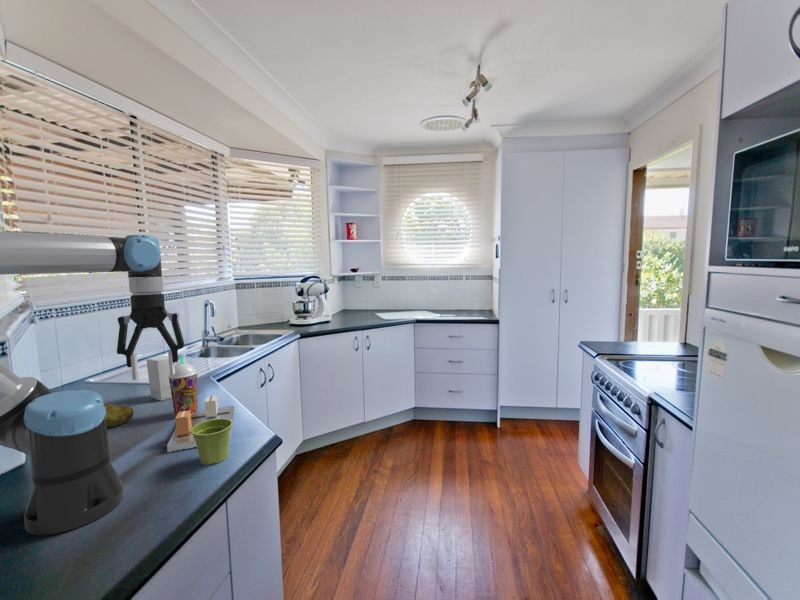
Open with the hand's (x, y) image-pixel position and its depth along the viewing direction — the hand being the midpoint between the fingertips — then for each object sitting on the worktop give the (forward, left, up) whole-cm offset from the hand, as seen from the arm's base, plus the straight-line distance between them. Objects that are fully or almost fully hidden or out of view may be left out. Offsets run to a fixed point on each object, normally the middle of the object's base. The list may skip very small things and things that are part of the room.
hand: (154, 376), depth 102 cm
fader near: (+6, 0, -17) cm, 18 cm away
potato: (-18, +21, -19) cm, 34 cm away
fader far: (+12, +11, -17) cm, 23 cm away
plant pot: (+15, -16, -19) cm, 29 cm away
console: (+11, +5, -19) cm, 22 cm away
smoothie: (+3, +22, -19) cm, 30 cm away
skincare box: (-8, +45, -19) cm, 50 cm away
